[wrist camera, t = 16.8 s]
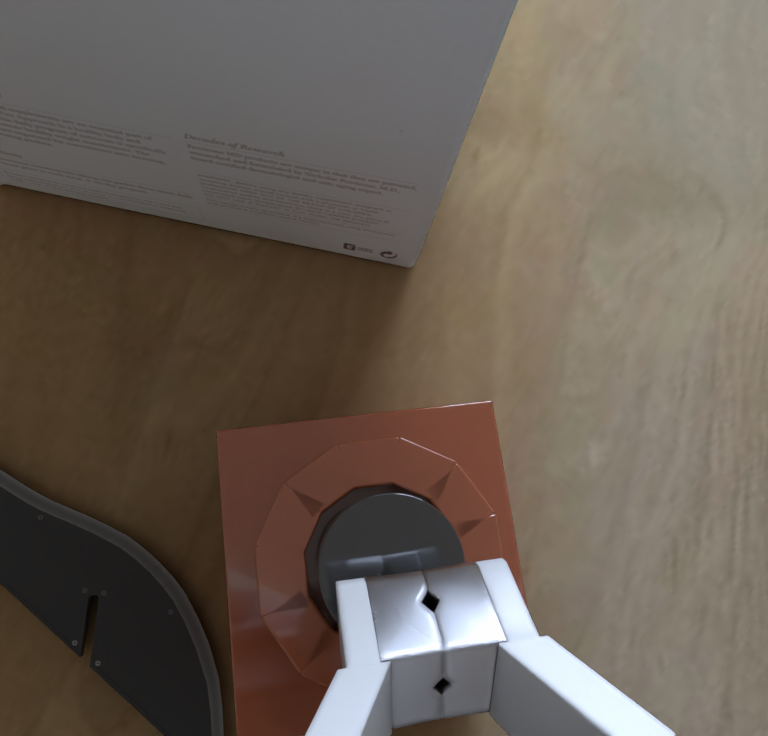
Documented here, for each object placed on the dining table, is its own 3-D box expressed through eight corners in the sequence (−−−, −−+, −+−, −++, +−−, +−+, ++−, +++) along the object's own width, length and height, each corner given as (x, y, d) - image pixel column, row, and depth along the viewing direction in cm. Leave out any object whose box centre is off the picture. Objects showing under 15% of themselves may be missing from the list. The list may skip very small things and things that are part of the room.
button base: (481, 648, 23) (569, 713, 15) (257, 686, 22) (227, 775, 14) (448, 430, 25) (511, 387, 17) (240, 454, 23) (205, 419, 16)
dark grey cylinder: (452, 619, 16) (477, 635, 13) (324, 639, 15) (326, 659, 13) (434, 489, 16) (453, 484, 14) (310, 505, 16) (310, 502, 14)
